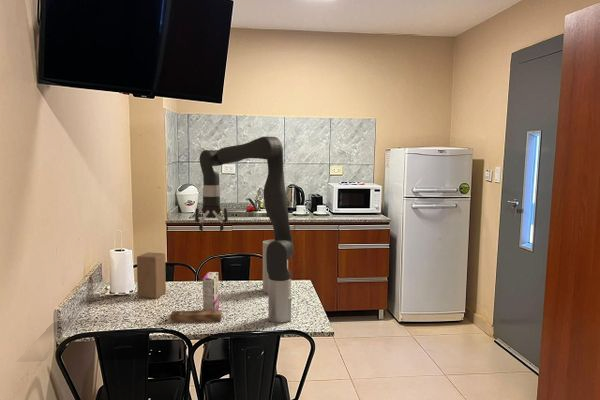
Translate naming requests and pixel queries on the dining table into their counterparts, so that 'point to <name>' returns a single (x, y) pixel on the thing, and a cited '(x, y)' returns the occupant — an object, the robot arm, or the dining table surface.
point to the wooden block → (151, 275)
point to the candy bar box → (211, 292)
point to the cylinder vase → (265, 273)
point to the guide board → (196, 316)
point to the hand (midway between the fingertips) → (211, 231)
